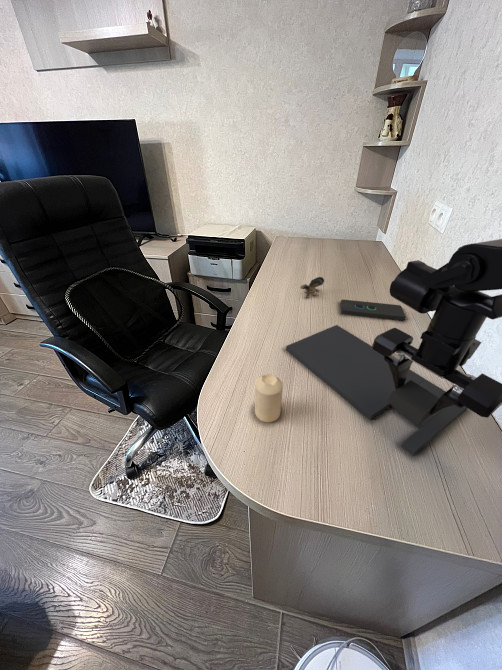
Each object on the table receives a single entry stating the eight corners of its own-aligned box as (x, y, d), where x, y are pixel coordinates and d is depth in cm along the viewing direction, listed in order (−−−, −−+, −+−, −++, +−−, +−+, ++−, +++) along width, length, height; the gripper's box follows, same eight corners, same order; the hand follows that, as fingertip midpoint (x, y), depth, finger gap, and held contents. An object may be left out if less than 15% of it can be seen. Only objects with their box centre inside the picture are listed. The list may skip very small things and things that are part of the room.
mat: (466, 410, 61) (469, 405, 60) (412, 456, 52) (415, 451, 51) (336, 328, 87) (336, 324, 86) (285, 350, 78) (286, 345, 77)
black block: (437, 409, 49) (443, 400, 48) (418, 425, 47) (423, 415, 45) (406, 388, 53) (410, 379, 52) (387, 402, 51) (391, 392, 49)
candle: (271, 427, 57) (273, 393, 51) (249, 414, 60) (249, 380, 54) (285, 410, 61) (288, 377, 55) (264, 398, 63) (265, 365, 58)
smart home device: (341, 298, 100) (400, 304, 96) (340, 302, 101) (399, 309, 97) (342, 309, 93) (406, 316, 89) (341, 314, 94) (404, 321, 90)
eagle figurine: (321, 298, 101) (328, 285, 106) (312, 282, 98) (319, 269, 103) (304, 303, 106) (311, 290, 112) (294, 288, 103) (302, 276, 109)
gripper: (554, 343, 37) (494, 417, 46) (421, 290, 50) (395, 357, 59) (521, 374, 32) (461, 450, 42) (382, 307, 45) (360, 376, 54)
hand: (414, 401), depth 49 cm, fingers closed on black block, 6 cm apart
